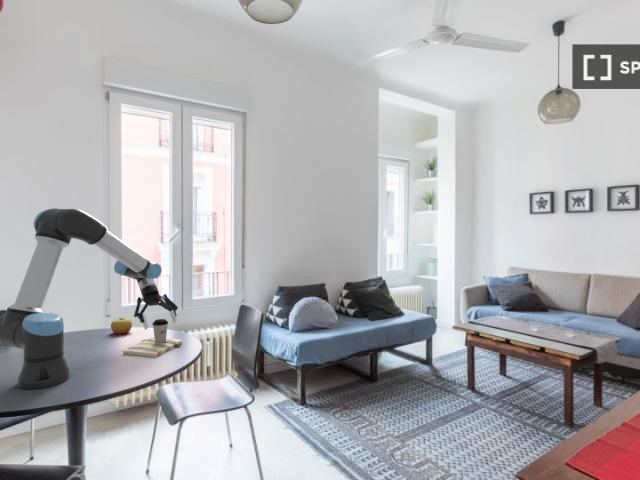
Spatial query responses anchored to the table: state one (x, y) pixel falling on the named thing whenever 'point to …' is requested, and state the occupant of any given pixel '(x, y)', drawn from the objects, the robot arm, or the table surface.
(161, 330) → the coffee cup
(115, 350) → the table surface
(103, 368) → the table surface
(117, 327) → the apple
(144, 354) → the subfloor panel
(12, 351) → the table surface
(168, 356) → the table surface
